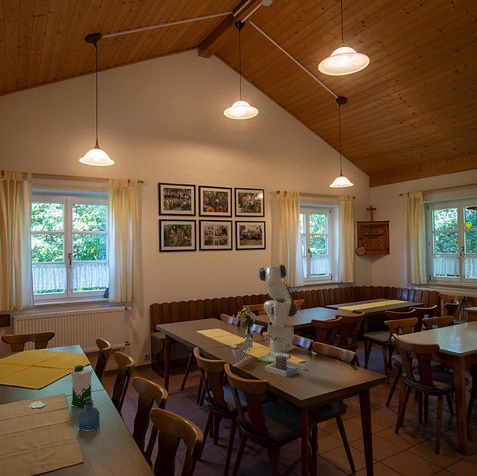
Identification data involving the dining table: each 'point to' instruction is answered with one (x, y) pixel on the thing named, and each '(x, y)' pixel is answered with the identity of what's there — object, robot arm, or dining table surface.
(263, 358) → the dish towel
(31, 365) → the dining table surface
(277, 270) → the robot arm
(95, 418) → the perfume bottle
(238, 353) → the goblet set
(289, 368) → the white tray
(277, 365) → the cord plug
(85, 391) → the milk carton
